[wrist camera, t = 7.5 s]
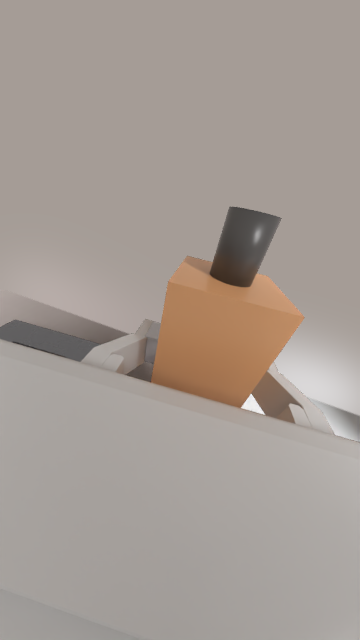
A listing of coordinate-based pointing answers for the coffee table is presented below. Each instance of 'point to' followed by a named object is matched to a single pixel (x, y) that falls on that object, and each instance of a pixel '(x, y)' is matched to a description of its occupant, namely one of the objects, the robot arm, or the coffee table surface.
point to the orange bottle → (224, 316)
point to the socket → (46, 340)
